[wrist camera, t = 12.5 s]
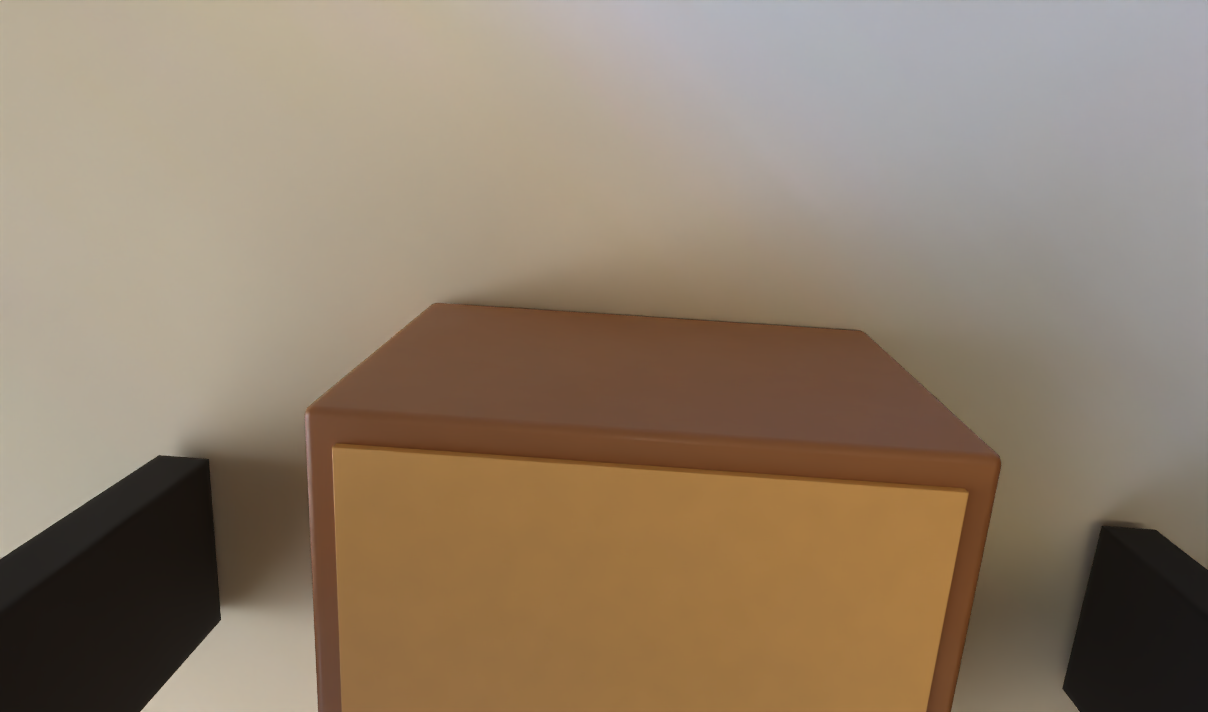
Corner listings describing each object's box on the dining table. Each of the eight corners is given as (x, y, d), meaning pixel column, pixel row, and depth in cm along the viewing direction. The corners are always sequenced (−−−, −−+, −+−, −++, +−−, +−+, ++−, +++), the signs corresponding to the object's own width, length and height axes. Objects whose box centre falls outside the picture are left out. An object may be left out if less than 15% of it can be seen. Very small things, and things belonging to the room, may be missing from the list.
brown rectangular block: (799, 778, 13) (877, 1107, 9) (432, 748, 13) (326, 1055, 9) (866, 329, 11) (1012, 461, 7) (432, 301, 11) (295, 410, 7)
